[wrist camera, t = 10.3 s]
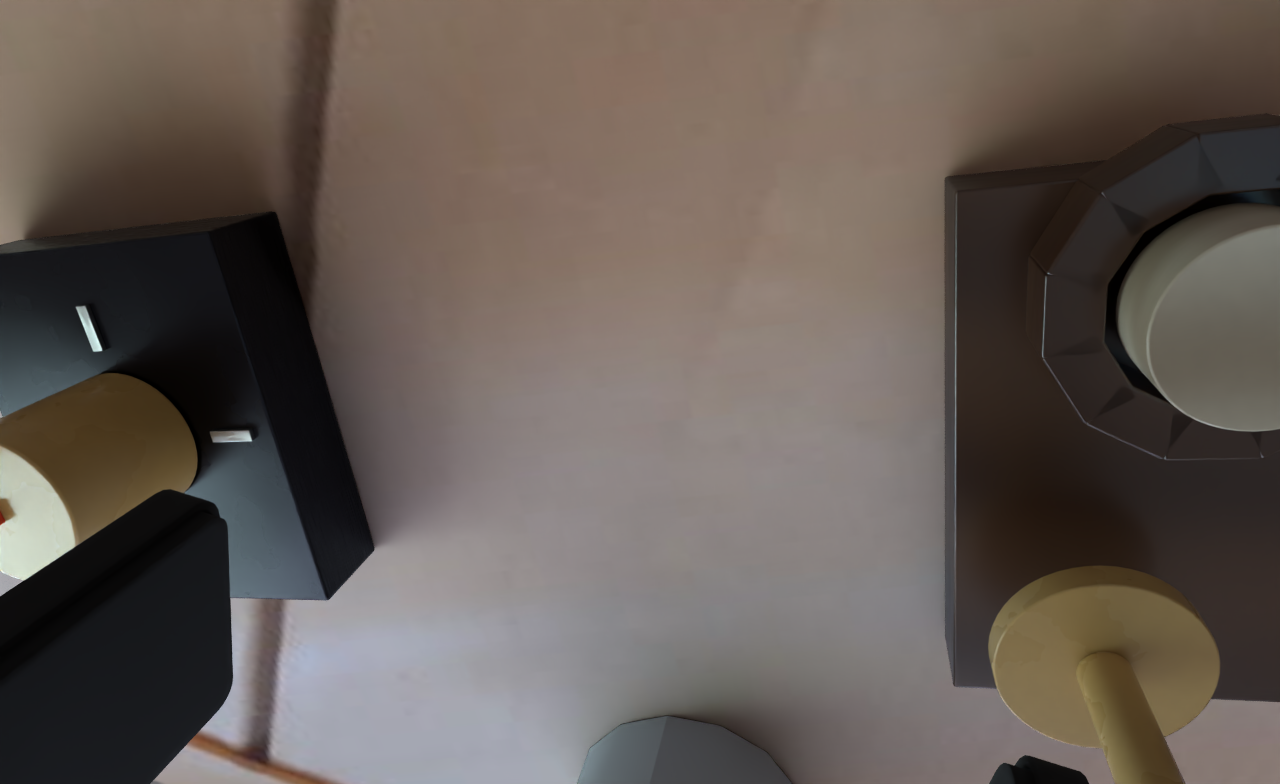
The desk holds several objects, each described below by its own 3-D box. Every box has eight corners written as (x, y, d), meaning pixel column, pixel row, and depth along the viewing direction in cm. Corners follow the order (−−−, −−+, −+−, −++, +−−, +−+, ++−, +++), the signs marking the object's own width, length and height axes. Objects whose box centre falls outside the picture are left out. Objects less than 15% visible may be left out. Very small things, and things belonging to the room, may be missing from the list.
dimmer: (20, 239, 28) (-75, 262, 25) (276, 210, 25) (204, 232, 22) (146, 547, 32) (78, 597, 29) (376, 550, 29) (326, 604, 26)
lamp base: (944, 136, 20) (965, 157, 17) (1443, 80, 18) (1598, 90, 14) (944, 637, 26) (961, 735, 22) (1326, 650, 23) (1416, 763, 19)
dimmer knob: (168, 367, 24) (22, 437, 20) (218, 498, 26) (93, 590, 22) (52, 376, 25) (-110, 445, 21) (106, 501, 27) (-34, 589, 23)
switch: (1122, 212, 17) (1156, 233, 15) (1358, 191, 16) (1426, 212, 14) (1107, 395, 18) (1138, 435, 16) (1323, 387, 17) (1381, 429, 15)
